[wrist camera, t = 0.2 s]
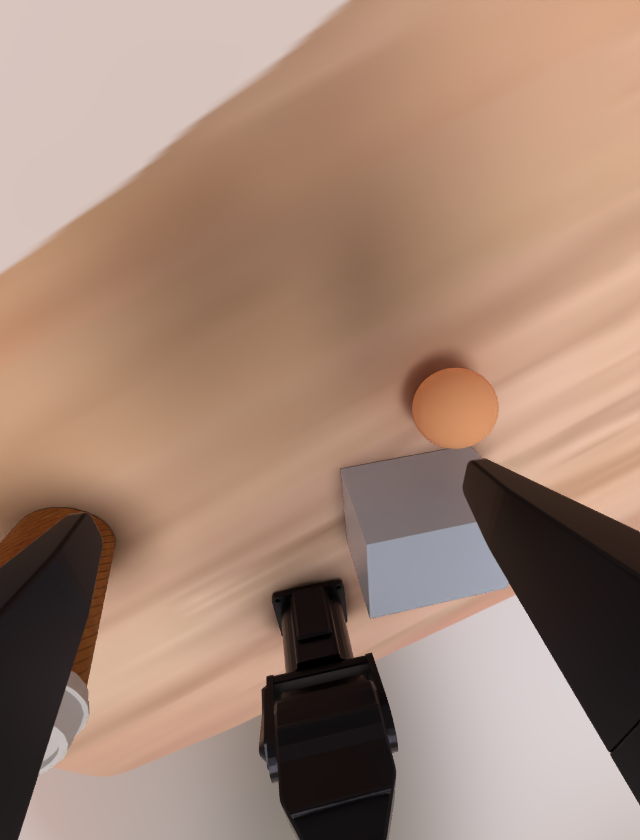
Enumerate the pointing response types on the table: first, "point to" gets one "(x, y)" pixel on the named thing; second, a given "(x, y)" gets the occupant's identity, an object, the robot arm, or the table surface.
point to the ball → (455, 408)
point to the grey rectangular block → (416, 532)
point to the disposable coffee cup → (76, 692)
